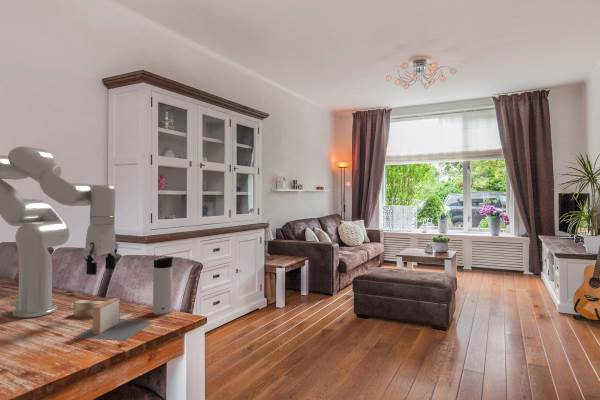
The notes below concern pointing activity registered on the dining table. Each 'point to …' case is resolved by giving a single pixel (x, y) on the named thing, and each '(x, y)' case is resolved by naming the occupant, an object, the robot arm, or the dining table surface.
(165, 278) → the travel mug
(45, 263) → the robot arm
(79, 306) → the beige rectangular bar
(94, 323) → the tile
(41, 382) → the dining table surface
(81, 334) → the grey square plate
